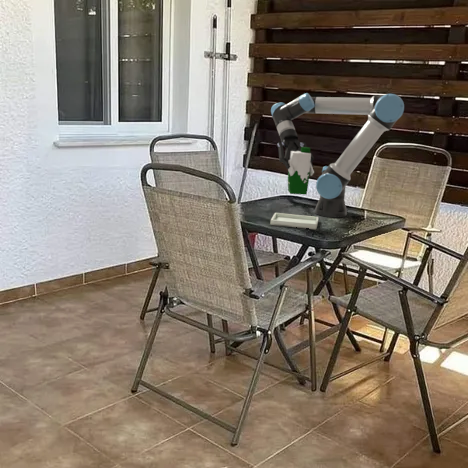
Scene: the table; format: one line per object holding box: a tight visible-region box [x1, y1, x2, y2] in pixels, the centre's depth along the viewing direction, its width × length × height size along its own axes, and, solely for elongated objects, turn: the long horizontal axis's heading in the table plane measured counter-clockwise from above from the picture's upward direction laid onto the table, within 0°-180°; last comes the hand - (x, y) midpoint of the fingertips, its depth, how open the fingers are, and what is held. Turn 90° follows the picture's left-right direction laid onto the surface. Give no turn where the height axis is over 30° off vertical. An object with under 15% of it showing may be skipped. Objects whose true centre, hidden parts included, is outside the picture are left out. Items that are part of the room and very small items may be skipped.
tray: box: [269, 212, 319, 230], centre depth 272 cm, size 20×16×2 cm
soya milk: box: [287, 146, 312, 195], centre depth 267 cm, size 9×9×20 cm
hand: (302, 174), depth 264 cm, fingers closed on soya milk, 9 cm apart
